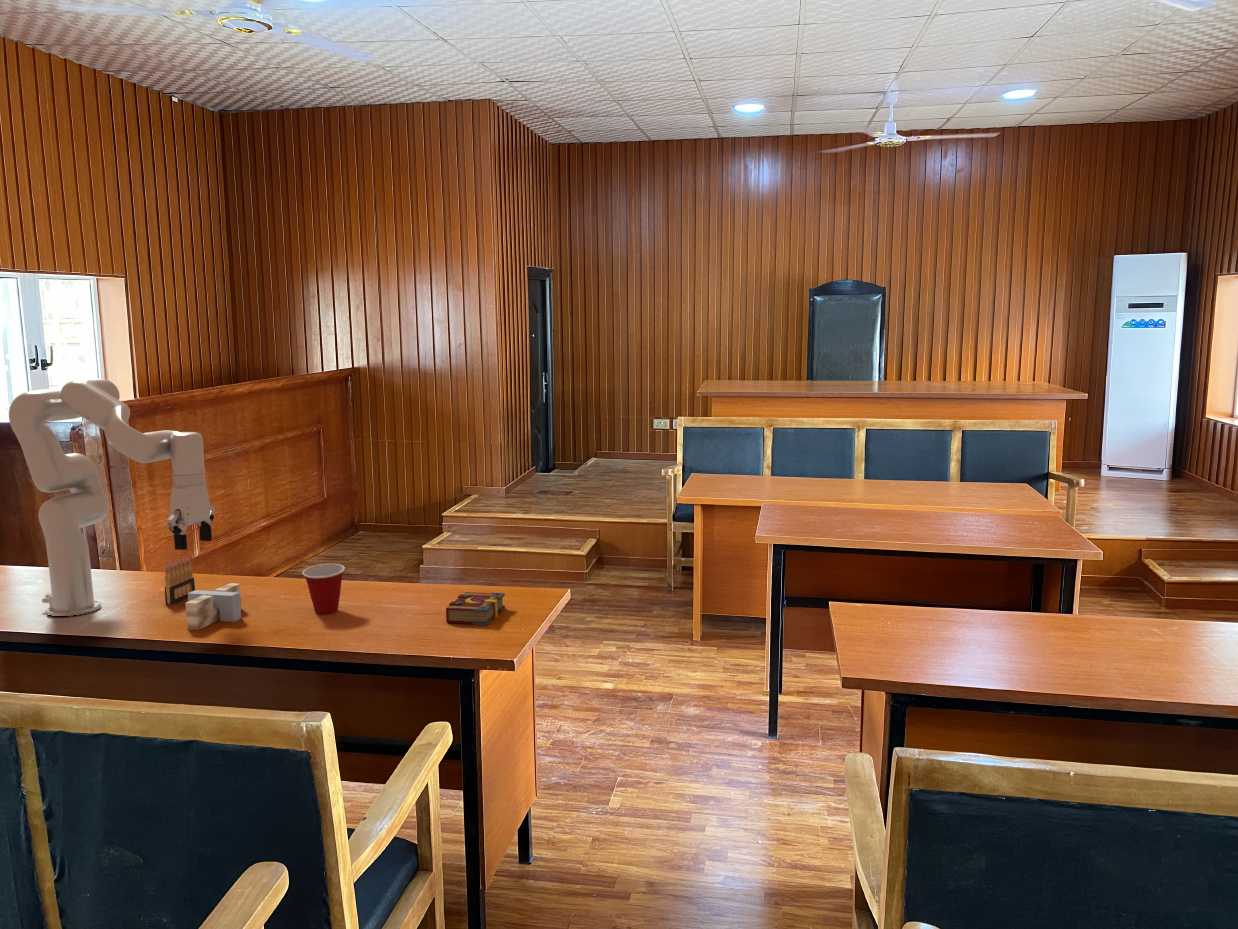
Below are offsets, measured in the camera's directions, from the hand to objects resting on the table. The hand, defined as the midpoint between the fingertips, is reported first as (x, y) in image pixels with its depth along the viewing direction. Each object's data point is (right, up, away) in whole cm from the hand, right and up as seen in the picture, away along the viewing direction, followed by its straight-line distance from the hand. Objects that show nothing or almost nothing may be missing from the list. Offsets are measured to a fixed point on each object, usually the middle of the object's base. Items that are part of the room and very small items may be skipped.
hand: (193, 545), depth 227 cm
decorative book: (+73, -19, +3) cm, 76 cm away
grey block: (+5, -20, +2) cm, 20 cm away
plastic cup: (+32, -19, +7) cm, 38 cm away
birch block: (+5, -20, +2) cm, 20 cm away
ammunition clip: (-13, -17, +19) cm, 29 cm away
